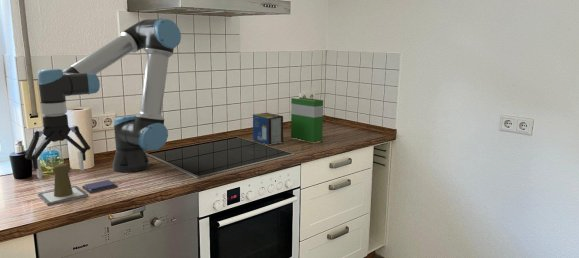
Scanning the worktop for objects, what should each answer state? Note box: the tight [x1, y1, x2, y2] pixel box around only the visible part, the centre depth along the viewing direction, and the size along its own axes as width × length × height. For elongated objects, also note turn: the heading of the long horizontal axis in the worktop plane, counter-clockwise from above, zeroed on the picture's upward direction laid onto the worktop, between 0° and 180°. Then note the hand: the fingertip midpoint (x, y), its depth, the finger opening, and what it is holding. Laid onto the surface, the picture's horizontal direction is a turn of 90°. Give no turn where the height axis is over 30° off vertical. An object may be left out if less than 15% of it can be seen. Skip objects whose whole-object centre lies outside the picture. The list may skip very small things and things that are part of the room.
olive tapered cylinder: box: [52, 163, 73, 197], centre depth 148 cm, size 6×6×11 cm
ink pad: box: [81, 179, 118, 194], centre depth 158 cm, size 10×8×1 cm
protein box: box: [252, 112, 284, 146], centre depth 235 cm, size 10×15×16 cm
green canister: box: [290, 96, 324, 142], centre depth 239 cm, size 18×7×24 cm, turn 45°
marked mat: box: [37, 185, 89, 206], centre depth 149 cm, size 13×13×1 cm
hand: (61, 173), depth 148 cm, fingers open, 13 cm apart
